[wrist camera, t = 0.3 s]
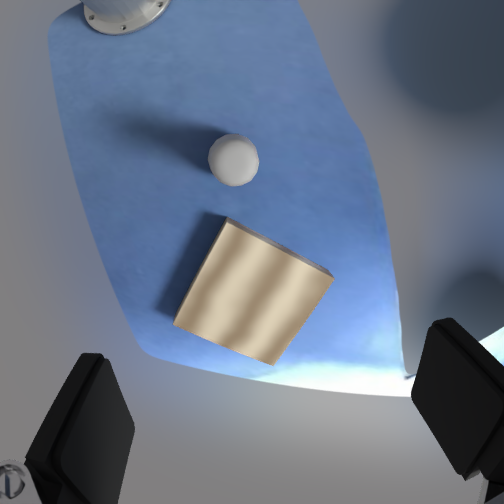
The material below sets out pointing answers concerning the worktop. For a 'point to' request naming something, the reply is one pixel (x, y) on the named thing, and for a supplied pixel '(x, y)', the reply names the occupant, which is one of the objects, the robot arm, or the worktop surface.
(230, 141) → the salt shaker
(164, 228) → the worktop surface
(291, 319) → the plinth
